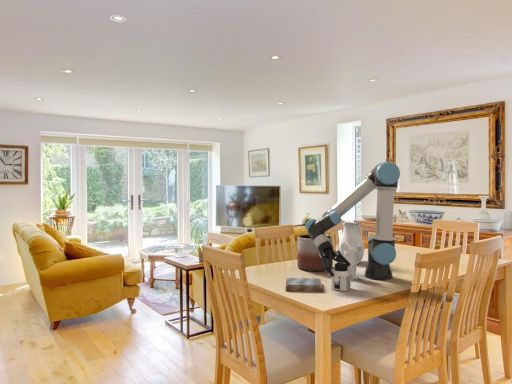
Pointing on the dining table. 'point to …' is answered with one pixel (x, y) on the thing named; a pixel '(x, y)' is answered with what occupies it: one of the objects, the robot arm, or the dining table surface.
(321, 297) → the dining table surface
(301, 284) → the wooden framed tray
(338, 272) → the container
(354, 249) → the cherub figurine
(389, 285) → the dining table surface
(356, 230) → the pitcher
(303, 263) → the planter
